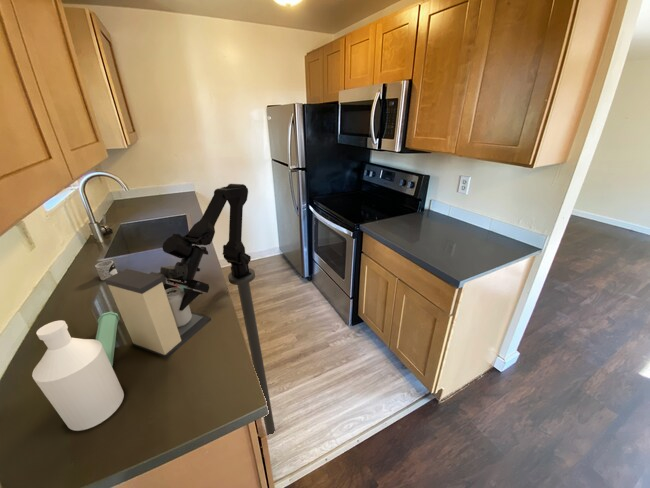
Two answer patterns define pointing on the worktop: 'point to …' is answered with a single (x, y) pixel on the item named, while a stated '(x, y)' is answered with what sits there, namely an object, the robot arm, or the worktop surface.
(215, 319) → the worktop surface
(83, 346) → the bottle
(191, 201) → the worktop surface
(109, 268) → the mug
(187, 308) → the can
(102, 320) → the container
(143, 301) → the coffee maker
